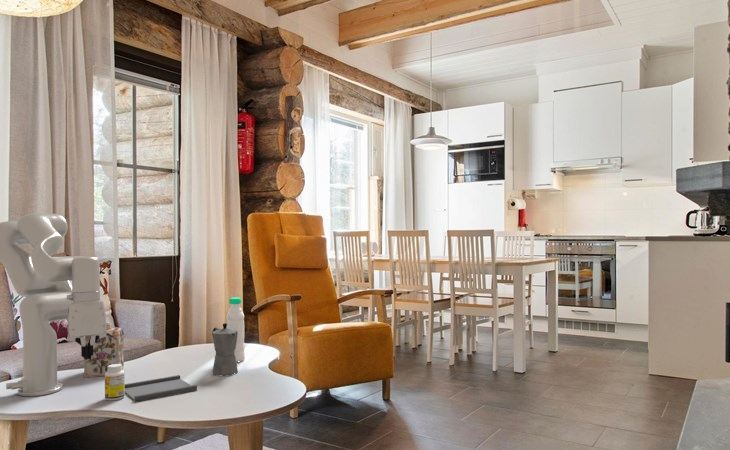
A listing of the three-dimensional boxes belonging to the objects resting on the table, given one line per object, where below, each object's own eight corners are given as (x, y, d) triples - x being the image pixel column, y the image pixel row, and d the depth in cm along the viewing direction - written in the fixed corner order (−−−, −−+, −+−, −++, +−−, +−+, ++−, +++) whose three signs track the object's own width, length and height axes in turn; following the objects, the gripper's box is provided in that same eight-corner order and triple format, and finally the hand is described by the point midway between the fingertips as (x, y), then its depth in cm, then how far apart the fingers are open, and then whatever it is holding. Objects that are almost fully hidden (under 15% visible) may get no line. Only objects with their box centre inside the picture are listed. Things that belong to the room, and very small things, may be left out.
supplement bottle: (106, 396, 171) (106, 363, 171) (125, 395, 173) (125, 362, 173) (103, 401, 166) (103, 368, 166) (123, 400, 167) (123, 366, 168)
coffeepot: (246, 373, 197) (245, 323, 197) (222, 378, 191) (222, 327, 191) (224, 366, 208) (224, 319, 209) (201, 371, 202) (201, 322, 202)
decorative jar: (83, 378, 194) (83, 327, 194) (90, 370, 205) (90, 322, 205) (119, 375, 197) (119, 325, 197) (124, 367, 208) (124, 320, 208)
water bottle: (224, 359, 219) (224, 297, 219) (242, 358, 222) (242, 296, 222) (228, 363, 213) (227, 299, 213) (246, 361, 216) (246, 298, 216)
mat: (135, 401, 165) (135, 397, 165) (121, 389, 179) (121, 384, 179) (196, 390, 177) (196, 385, 177) (179, 379, 190) (178, 375, 190)
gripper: (60, 300, 157) (61, 365, 157) (115, 296, 166) (117, 356, 166) (56, 299, 163) (57, 360, 163) (109, 294, 172) (111, 353, 172)
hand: (87, 358), depth 164 cm, fingers closed
